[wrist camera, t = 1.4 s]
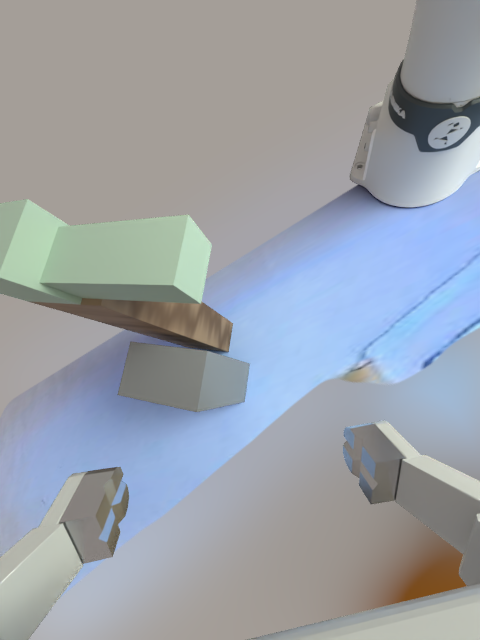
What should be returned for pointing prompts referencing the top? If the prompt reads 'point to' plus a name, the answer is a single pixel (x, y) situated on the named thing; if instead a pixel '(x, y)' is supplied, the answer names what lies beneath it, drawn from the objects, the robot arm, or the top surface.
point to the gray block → (183, 377)
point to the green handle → (100, 258)
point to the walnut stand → (158, 320)
